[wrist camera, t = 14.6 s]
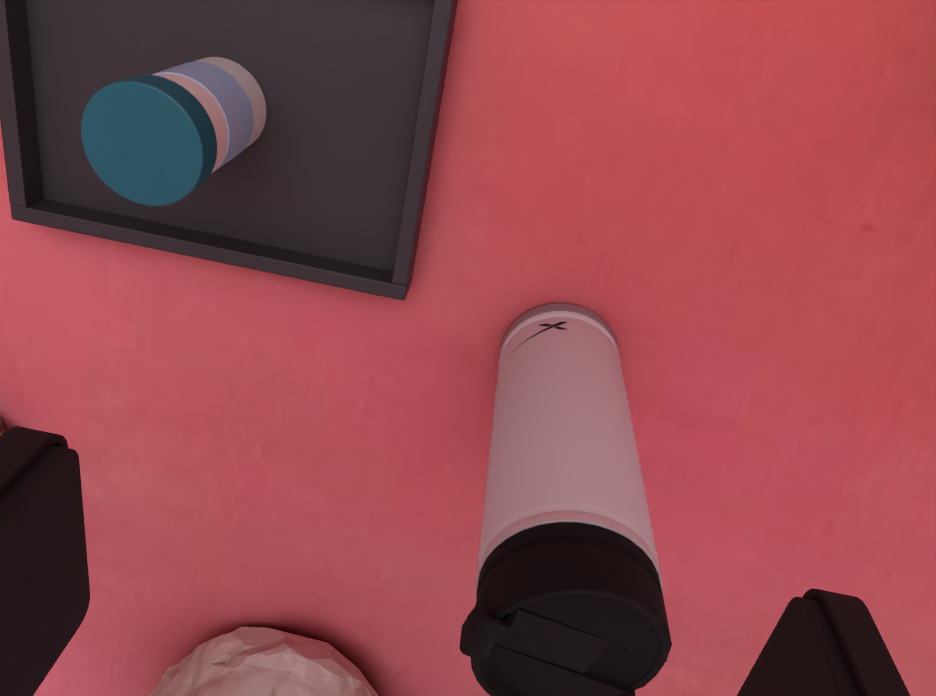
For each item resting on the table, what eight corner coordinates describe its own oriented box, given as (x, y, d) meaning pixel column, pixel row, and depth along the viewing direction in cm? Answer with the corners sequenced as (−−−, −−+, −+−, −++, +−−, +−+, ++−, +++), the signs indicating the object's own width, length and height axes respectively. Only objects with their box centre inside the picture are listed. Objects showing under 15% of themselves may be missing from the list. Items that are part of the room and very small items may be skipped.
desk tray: (5, -124, 32) (-29, -128, 30) (462, -26, 32) (457, -23, 30) (36, 206, 39) (11, 219, 37) (410, 284, 39) (404, 301, 37)
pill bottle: (172, 42, 34) (75, 68, 27) (274, 63, 34) (204, 95, 27) (173, 143, 36) (83, 193, 29) (268, 163, 36) (202, 217, 29)
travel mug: (526, 278, 38) (513, 564, 21) (640, 331, 39) (721, 649, 21) (474, 373, 41) (425, 694, 24) (582, 420, 42) (611, 764, 24)
